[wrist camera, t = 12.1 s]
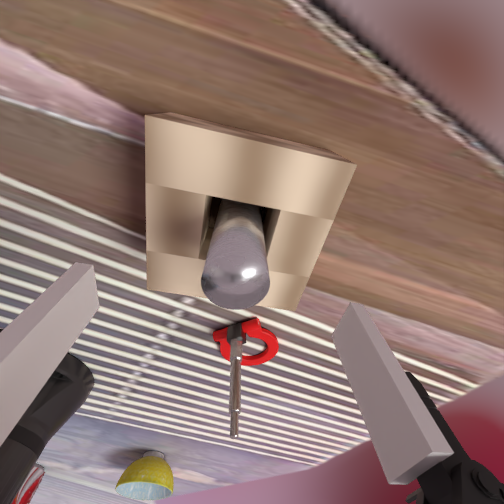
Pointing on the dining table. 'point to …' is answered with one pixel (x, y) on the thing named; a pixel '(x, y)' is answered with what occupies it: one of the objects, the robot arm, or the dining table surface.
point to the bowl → (147, 478)
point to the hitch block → (238, 189)
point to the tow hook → (242, 359)
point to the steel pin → (236, 258)
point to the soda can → (30, 485)
